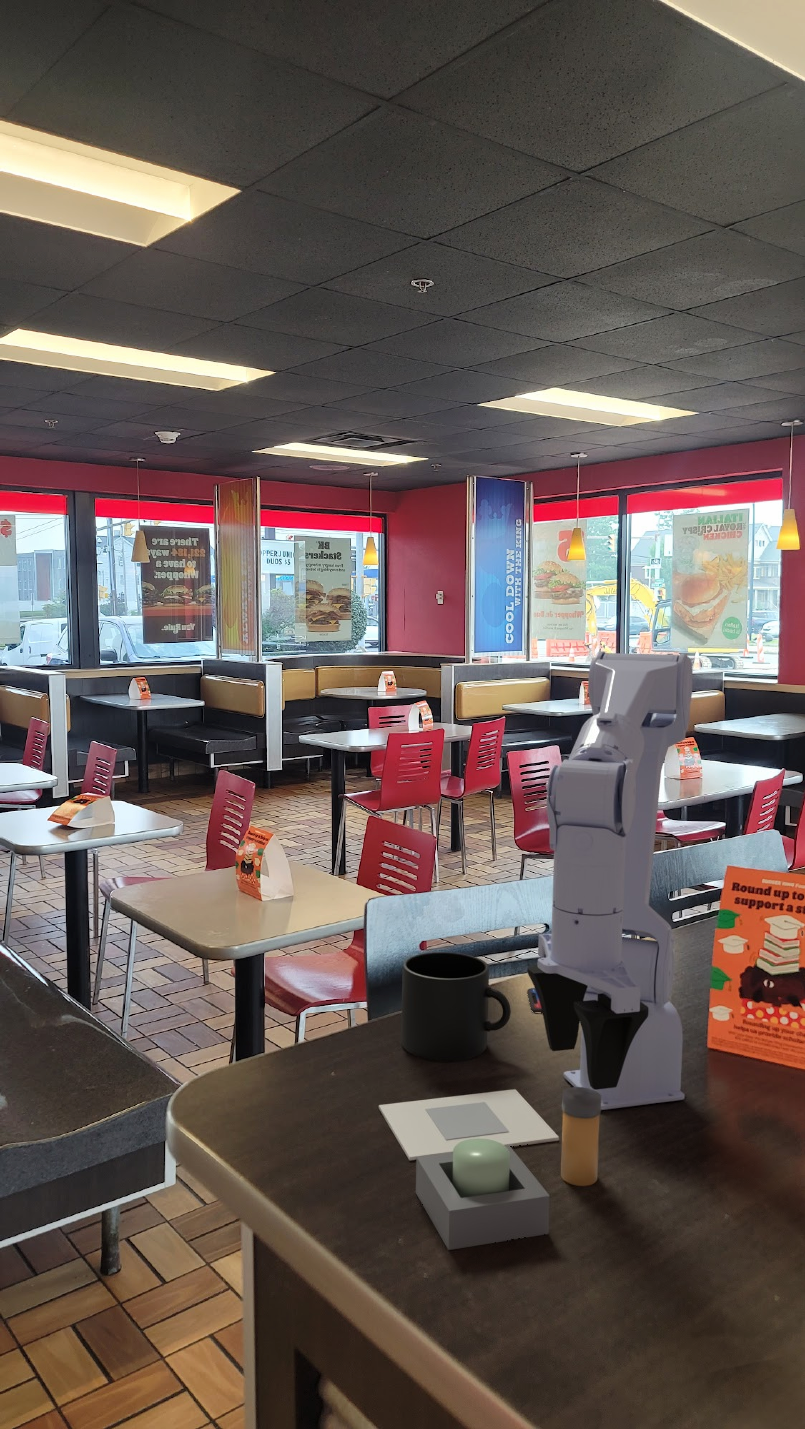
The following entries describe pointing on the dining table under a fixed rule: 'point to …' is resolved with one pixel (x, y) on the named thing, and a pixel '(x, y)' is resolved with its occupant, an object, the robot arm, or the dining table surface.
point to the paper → (465, 1122)
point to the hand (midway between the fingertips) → (581, 1066)
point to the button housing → (481, 1204)
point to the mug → (447, 1006)
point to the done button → (480, 1167)
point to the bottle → (580, 1135)
